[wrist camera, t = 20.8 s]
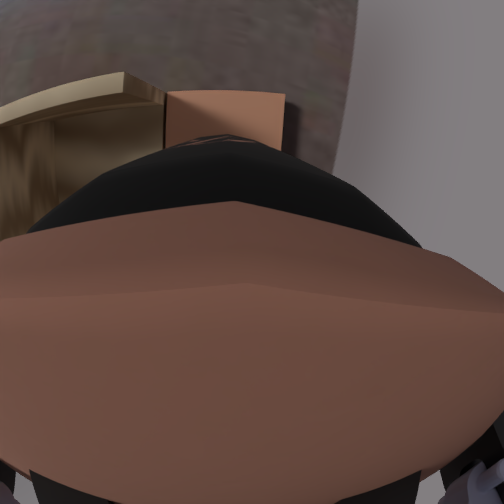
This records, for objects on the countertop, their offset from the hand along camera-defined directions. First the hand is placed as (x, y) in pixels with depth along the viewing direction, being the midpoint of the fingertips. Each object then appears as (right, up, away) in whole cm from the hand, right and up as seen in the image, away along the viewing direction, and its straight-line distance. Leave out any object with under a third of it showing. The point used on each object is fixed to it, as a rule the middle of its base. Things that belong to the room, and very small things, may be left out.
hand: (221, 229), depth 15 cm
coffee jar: (0, +2, +4) cm, 4 cm away
